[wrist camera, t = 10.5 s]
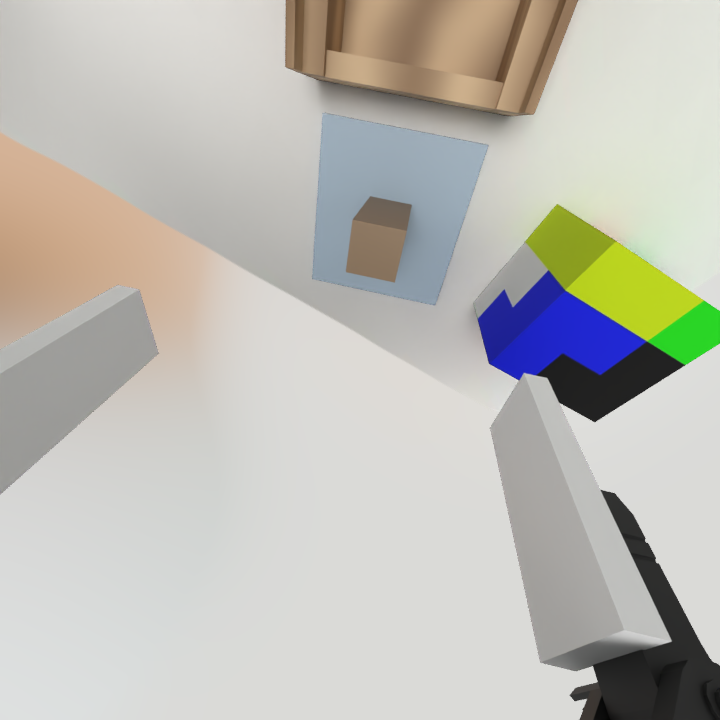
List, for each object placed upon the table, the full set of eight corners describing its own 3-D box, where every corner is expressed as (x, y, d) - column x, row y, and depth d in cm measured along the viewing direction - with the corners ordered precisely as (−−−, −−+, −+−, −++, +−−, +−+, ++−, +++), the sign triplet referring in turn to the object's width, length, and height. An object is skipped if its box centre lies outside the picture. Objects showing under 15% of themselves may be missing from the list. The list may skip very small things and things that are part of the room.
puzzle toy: (473, 302, 31) (488, 363, 23) (556, 203, 25) (615, 241, 17) (554, 349, 33) (594, 422, 25) (650, 267, 27) (744, 327, 19)
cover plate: (315, 275, 33) (283, 318, 25) (326, 113, 25) (284, 109, 17) (435, 300, 32) (437, 352, 25) (486, 144, 24) (511, 154, 17)
